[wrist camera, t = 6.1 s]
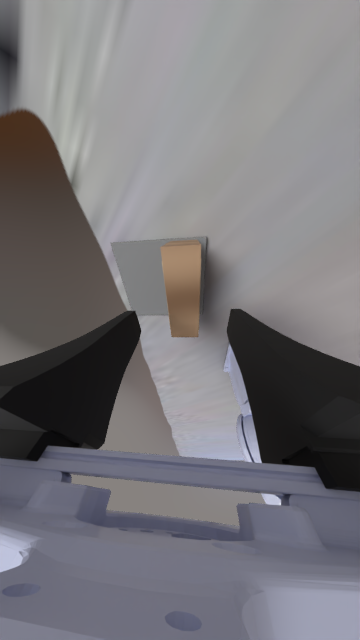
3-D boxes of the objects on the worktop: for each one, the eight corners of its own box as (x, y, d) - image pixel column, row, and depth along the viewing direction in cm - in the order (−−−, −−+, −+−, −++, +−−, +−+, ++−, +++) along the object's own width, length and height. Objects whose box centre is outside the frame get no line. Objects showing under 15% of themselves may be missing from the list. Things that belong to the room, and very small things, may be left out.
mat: (202, 312, 20) (202, 314, 20) (134, 314, 21) (133, 315, 21) (206, 236, 14) (206, 236, 14) (112, 242, 15) (110, 242, 15)
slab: (196, 309, 19) (198, 337, 14) (175, 310, 20) (171, 337, 15) (197, 239, 14) (201, 244, 9) (169, 241, 14) (159, 247, 10)
